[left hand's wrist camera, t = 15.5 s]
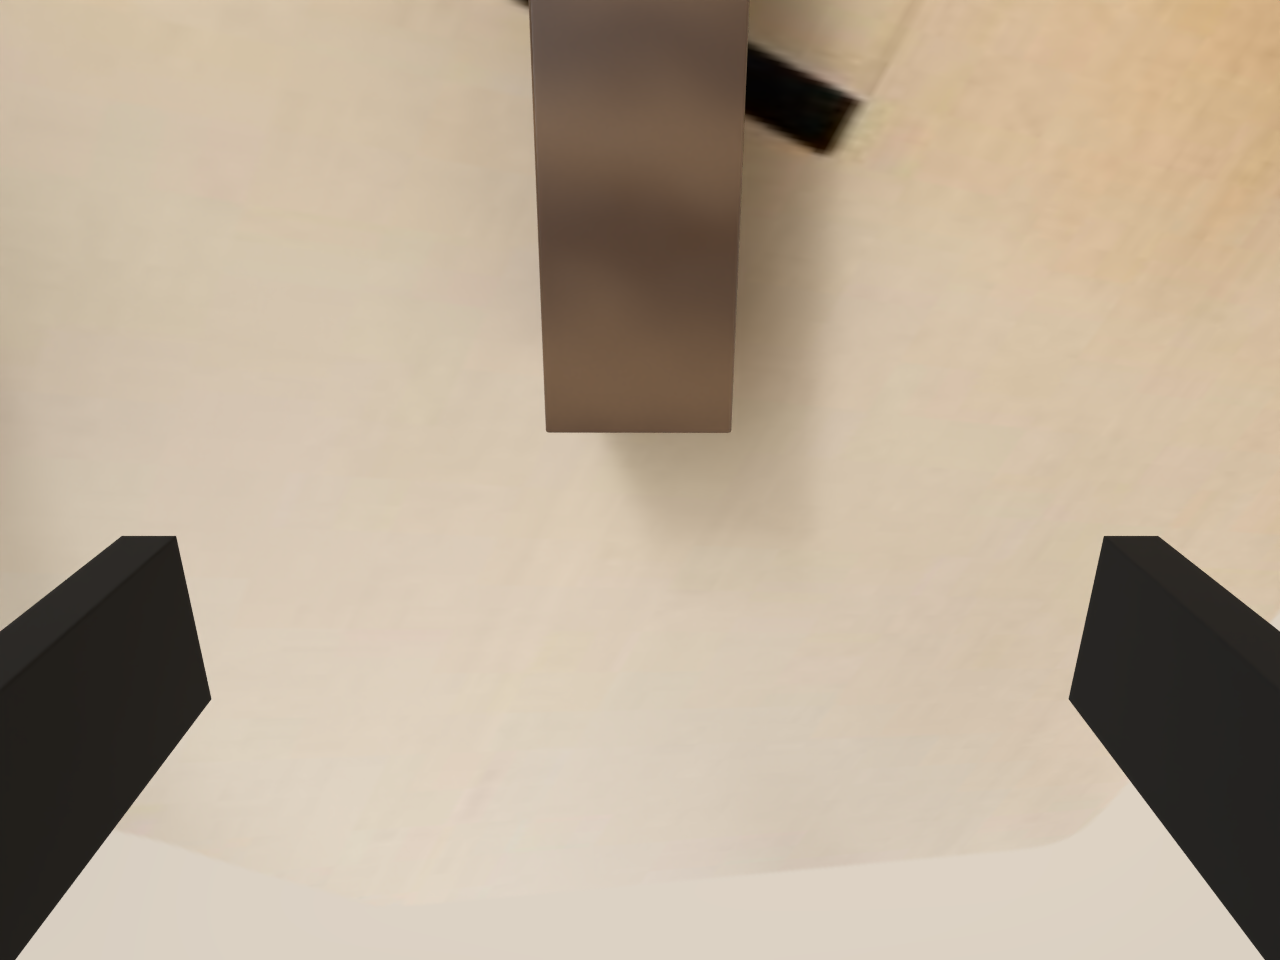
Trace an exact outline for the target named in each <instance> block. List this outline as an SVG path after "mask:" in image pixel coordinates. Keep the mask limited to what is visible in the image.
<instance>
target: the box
mask: <svg viewBox="0 0 1280 960" xmlns="http://www.w3.org/2000/svg"><path fill="white" fill-rule="evenodd" d="M529 19H530V44H531V69H532V94H533V119H534V144H535V169H536V194H537V218H538V243H539V268H540V293H541V318H542V343H543V368H544V393H545V418H546V431H547V432H570V433H729V432H731V422H732V399H733V375H734V352H735V328H736V305H737V281H738V258H739V234H740V210H741V187H742V163H743V140H744V116H745V93H746V69H747V46H748V22H749V0H529Z"/></svg>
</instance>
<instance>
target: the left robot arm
mask: <svg viewBox="0 0 1280 960" xmlns="http://www.w3.org/2000/svg"><path fill="white" fill-rule="evenodd" d="M210 700H211V695H210V691H209V686H208V681H207V677H206V672H205V668H204V663H203V658H202V654H201V649H200V644H199V640H198V635H197V631H196V626H195V621H194V617H193V612H192V608H191V603H190V598H189V594H188V589H187V585H186V580H185V575H184V571H183V566H182V561H181V557H180V552H179V548H178V543H177V538H176V536H121V537H120V538H119V539H118V540H116V541H115V542H114V543H112V544H111V545H110V546H109V547H107V548H106V549H105V550H104V551H102V552H101V553H100V554H98V555H97V556H96V557H95V558H93V559H92V560H91V561H89V562H88V563H87V564H86V565H84V566H83V567H82V568H81V569H79V570H78V571H77V572H75V573H74V574H73V575H72V576H70V577H69V578H68V579H67V580H65V581H64V582H63V583H61V584H60V585H59V586H58V587H56V588H55V589H54V590H53V591H51V592H50V593H49V594H47V595H46V596H45V597H44V598H42V599H41V600H40V601H39V602H37V603H36V604H35V605H33V606H32V607H31V608H30V609H28V610H27V611H26V612H25V613H23V614H22V615H21V616H19V617H18V618H17V619H16V620H14V621H13V622H12V623H10V624H9V625H8V626H7V627H5V628H4V629H3V630H2V631H0V960H15V959H16V958H17V957H18V955H19V954H20V953H21V951H22V950H23V949H24V947H25V946H26V945H27V943H28V942H29V941H30V939H31V938H32V937H33V935H34V934H35V933H36V931H37V930H38V929H39V927H40V926H41V925H42V923H43V922H44V921H45V919H46V918H47V917H48V915H49V914H50V913H51V911H52V910H53V909H54V907H55V906H56V905H57V903H58V902H59V901H60V899H61V898H62V897H63V895H64V894H65V893H66V892H67V890H68V889H69V888H70V886H71V885H72V884H73V882H74V881H75V879H76V878H77V877H78V875H79V874H80V873H81V872H82V870H83V869H84V868H85V866H86V865H87V864H88V862H89V861H90V860H91V858H92V857H93V856H94V854H95V853H96V852H97V850H98V849H99V848H100V846H101V845H102V844H103V842H104V841H105V840H106V838H107V837H108V836H109V834H110V833H111V832H112V830H113V829H114V828H115V826H116V825H117V824H118V822H119V821H120V820H121V818H122V817H123V816H124V814H125V813H126V812H127V810H128V809H129V808H130V806H131V805H132V804H133V802H134V801H135V800H136V799H137V797H138V796H139V795H140V793H141V792H142V791H143V789H144V788H145V787H146V785H147V784H148V783H149V781H150V780H151V779H152V777H153V776H154V775H155V773H156V772H157V771H158V769H159V768H160V767H161V765H162V764H163V763H164V761H165V760H166V759H167V757H168V756H169V755H170V753H171V752H172V751H173V749H174V748H175V747H176V745H177V744H178V743H179V741H180V740H181V739H182V737H183V736H184V735H185V733H186V732H187V731H188V729H189V728H190V727H191V725H192V724H193V723H194V721H195V720H196V719H197V717H198V716H199V715H200V713H201V712H202V711H203V709H204V708H205V707H206V705H207V704H208V703H209V702H210ZM1069 700H1070V702H1071V703H1072V704H1073V706H1074V707H1075V708H1076V709H1077V711H1078V712H1079V713H1080V715H1081V716H1082V717H1083V719H1084V720H1085V721H1086V723H1087V724H1088V725H1089V727H1090V728H1091V729H1092V731H1093V732H1094V733H1095V735H1096V736H1097V737H1098V739H1099V740H1100V741H1101V743H1102V744H1103V745H1104V747H1105V748H1106V749H1107V751H1108V752H1109V753H1110V755H1111V756H1112V757H1113V759H1114V760H1115V761H1116V763H1117V764H1118V765H1119V767H1120V768H1121V769H1122V771H1123V772H1124V773H1125V775H1126V776H1127V777H1128V779H1129V780H1130V781H1131V783H1132V784H1133V785H1134V787H1135V788H1136V789H1137V791H1138V792H1139V793H1140V795H1141V796H1142V797H1143V798H1144V800H1145V801H1146V802H1147V804H1148V805H1149V806H1150V808H1151V809H1152V810H1153V812H1154V813H1155V814H1156V816H1157V817H1158V818H1159V820H1160V821H1161V822H1162V824H1163V825H1164V826H1165V828H1166V829H1167V830H1168V832H1169V833H1170V834H1171V836H1172V837H1173V838H1174V840H1175V841H1176V842H1177V844H1178V845H1179V846H1180V848H1181V849H1182V850H1183V852H1184V853H1185V854H1186V856H1187V857H1188V858H1189V860H1190V861H1191V862H1192V864H1193V865H1194V866H1195V868H1196V869H1197V870H1198V872H1199V873H1200V874H1201V876H1202V877H1203V878H1204V880H1205V881H1206V882H1207V884H1208V885H1209V886H1210V887H1211V889H1212V890H1213V892H1214V893H1215V894H1216V896H1217V897H1218V898H1219V899H1220V901H1221V902H1222V903H1223V905H1224V906H1225V907H1226V909H1227V910H1228V911H1229V913H1230V914H1231V915H1232V917H1233V918H1234V919H1235V921H1236V922H1237V923H1238V925H1239V926H1240V927H1241V929H1242V930H1243V931H1244V933H1245V934H1246V935H1247V937H1248V938H1249V939H1250V941H1251V942H1252V943H1253V945H1254V946H1255V947H1256V949H1257V950H1258V951H1259V953H1260V954H1261V955H1262V957H1263V958H1264V959H1265V960H1280V631H1278V630H1277V629H1276V628H1275V627H1273V626H1272V625H1271V624H1270V623H1268V622H1267V621H1266V620H1264V619H1263V618H1262V617H1261V616H1259V615H1258V614H1257V613H1255V612H1254V611H1253V610H1252V609H1250V608H1249V607H1248V606H1247V605H1245V604H1244V603H1243V602H1241V601H1240V600H1239V599H1238V598H1236V597H1235V596H1234V595H1233V594H1231V593H1230V592H1229V591H1227V590H1226V589H1225V588H1224V587H1222V586H1221V585H1220V584H1219V583H1217V582H1216V581H1215V580H1213V579H1212V578H1211V577H1210V576H1208V575H1207V574H1206V573H1205V572H1203V571H1202V570H1201V569H1199V568H1198V567H1197V566H1196V565H1194V564H1193V563H1192V562H1191V561H1189V560H1188V559H1187V558H1185V557H1184V556H1183V555H1182V554H1180V553H1179V552H1178V551H1176V550H1175V549H1174V548H1173V547H1171V546H1170V545H1169V544H1168V543H1166V542H1165V541H1164V540H1162V539H1161V538H1160V537H1159V536H1104V538H1103V543H1102V548H1101V552H1100V557H1099V561H1098V566H1097V571H1096V575H1095V580H1094V585H1093V589H1092V594H1091V598H1090V603H1089V608H1088V612H1087V617H1086V621H1085V626H1084V631H1083V635H1082V640H1081V644H1080V649H1079V654H1078V658H1077V663H1076V668H1075V672H1074V677H1073V681H1072V686H1071V691H1070V695H1069Z"/></svg>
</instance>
